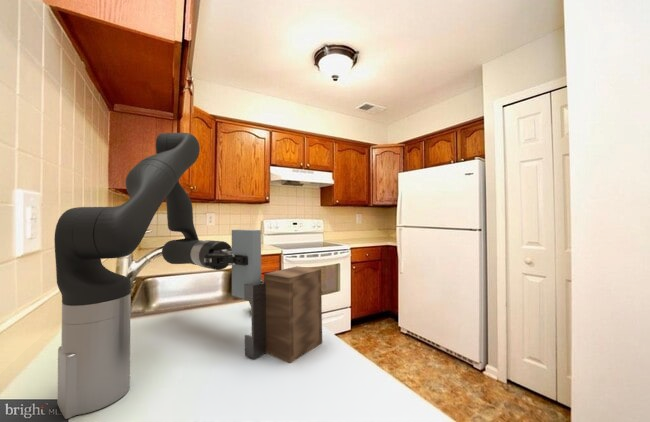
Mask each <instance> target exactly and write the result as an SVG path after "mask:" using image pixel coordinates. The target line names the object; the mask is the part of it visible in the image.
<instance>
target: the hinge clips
mask: <svg viewBox="0 0 650 422" xmlns="http://www.w3.org/2000/svg"><path fill="white" fill-rule="evenodd" d="M243 300H245V301H247V302H249V301H251V306H250V308H251V313H250V314H251V335H248V334H244V356H245V357H247V359H250V360H252V361H254V360H257V359H259V358H260V357H262V356H264V355H265V354H267V353H266V283H264V280H261V283H260V284H256V285H250V284H244V299H243Z"/></svg>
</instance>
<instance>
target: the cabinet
mask: <svg viewBox="0 0 650 422" xmlns="http://www.w3.org/2000/svg"><path fill="white" fill-rule="evenodd" d="M263 281H264V283H266V354H267V355H270V356H272V357H274V358H276V359H279V360H281V361H284V362H286V363H288V364H291V363H293V362H294V361H296V360H297V359H299V358H301V357H302V356H304V355H305V354H306V353H308V352H310V351H311V350H313V349H315V348H316V347H318V346H320V345H321V344H323V318H322V317H323V313H322V312H323V307H322V302H323V301H322V299H323V297H322V269H321V268H314V267H313V268H312V267H307V266H306V267H305V266H297V265H296V266H292V267H288V268H283V269H280V270H274V271H271V272H265V273H263Z"/></svg>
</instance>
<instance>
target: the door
mask: <svg viewBox="0 0 650 422" xmlns="http://www.w3.org/2000/svg"><path fill="white" fill-rule="evenodd" d="M231 248H232V253H233V254H236V255H244V256H248V265H246V266H243V265H237V264H236V265H231V296H232V297H236V298H240V299H243V300H244V284H250V285H256V284H260V283H261V281H262V230H261V229H260V230H259V229H231Z"/></svg>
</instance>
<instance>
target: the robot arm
mask: <svg viewBox="0 0 650 422" xmlns="http://www.w3.org/2000/svg"><path fill="white" fill-rule="evenodd" d="M200 149H201V148H200V143H199V141H198V139H197V137H196V136H195V135H194V134H191V133H189V132H162V133H159V134H158V135H157V137H156V139H155V154H152V155H150V156H147V157H145V158H144V159H142V160H140V161H139V162H138V163H137V164H136V165H134V166H133V168H132V169H130V171H128V173H127V175H126V177H125V188H126V192H127V194H128V196H129V199H128V200H127V201H125V202H124V203H122V204H121V205H117V206H78V207H72V208H69V209H66V211H64V212H63V213H62V214H61V215H60V216H59V218H58V220H57V223H56V226H55V230H54V237H53V238H54V257H55V273H56V276H55V277H56V284H57V285H56V286H57V287H58V290H59V292H60V294H61V346H58V348H57V403H56V404H57V406H58V408H59V410H60V413H61V414H62V416H63V418H64V419H65V420H68V419H70V418H72V417H74V416H79V415H83V414H88V413H93V412H95V411H97V410H100V409H103V408H106V407H107V406H110V405H112V404H114V403H115V402H117V401H118V400H119V399H121V398H122V397H124V396H125V395H126V394H127V392H129V390H130V387H131V303H132V302H131V292H132V291H131V290H132V289H131V284H132V283H131V280H130V278H129V277H127V276H126V275H122V274H120V273H116V272H113V270H112V271H111V270H110V269H108V268H107V267H106V266H104V265H103V263H102V260H104V259H105V260H106V259H108V260H109V259H120V258H126V257H127V256H129V255H130V256H131V254H132V253H134V252H135V251H136V250H137V248H138V247H139V245H140V243H141V242H142V240H143V238H144V236H145V234H146V232H147V231H148V229H149V226H150V224H151V222H152V220H153V218H154V217H155V215H156V213H157V212H158V210H159V208H160V207H161V205H162V204H163V202H164V201H166V217H167V218H166V219H167V229H168V230H169V231H171V232H176V233H181V234H182V235H183V236H184V238H179V239H171V240H169V241H167V242H165V244H164V245H163V246H162V248H161V255H162V258H163V259H164V261H165V262H167V263H169V264H170V265H171V264H172V265H186V264H189V265H195V266H199V267H201V268H205V269H209V270H216V271H222V270H224V269H226V268H227V267H229V266H232V265H236V264H237V265H243V266H246V265H248V256H244V255H236V254H233V253H232V245H231V244H229V243H228V242H227V241H221V240H210V239H209V240H207V239H206V240H205V239H204V240H200V239H199V237H198V234H197V231H196V228H195V225H194V213H193V211H194V210H193V209H194V208H193V203H192V201H191V200H192V199H191V198H190V196H189V194H188V193H187V192H186V191H185V189H184V188H183V186H182V185H181V183H180V182H179V180H180V179H181V177H182V176H183V175H184V174H185V172H186V171H188V169H190V168H191V166H192V165H194V164H195V163H196V162H197V161H198V158H199V156H200Z"/></svg>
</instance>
